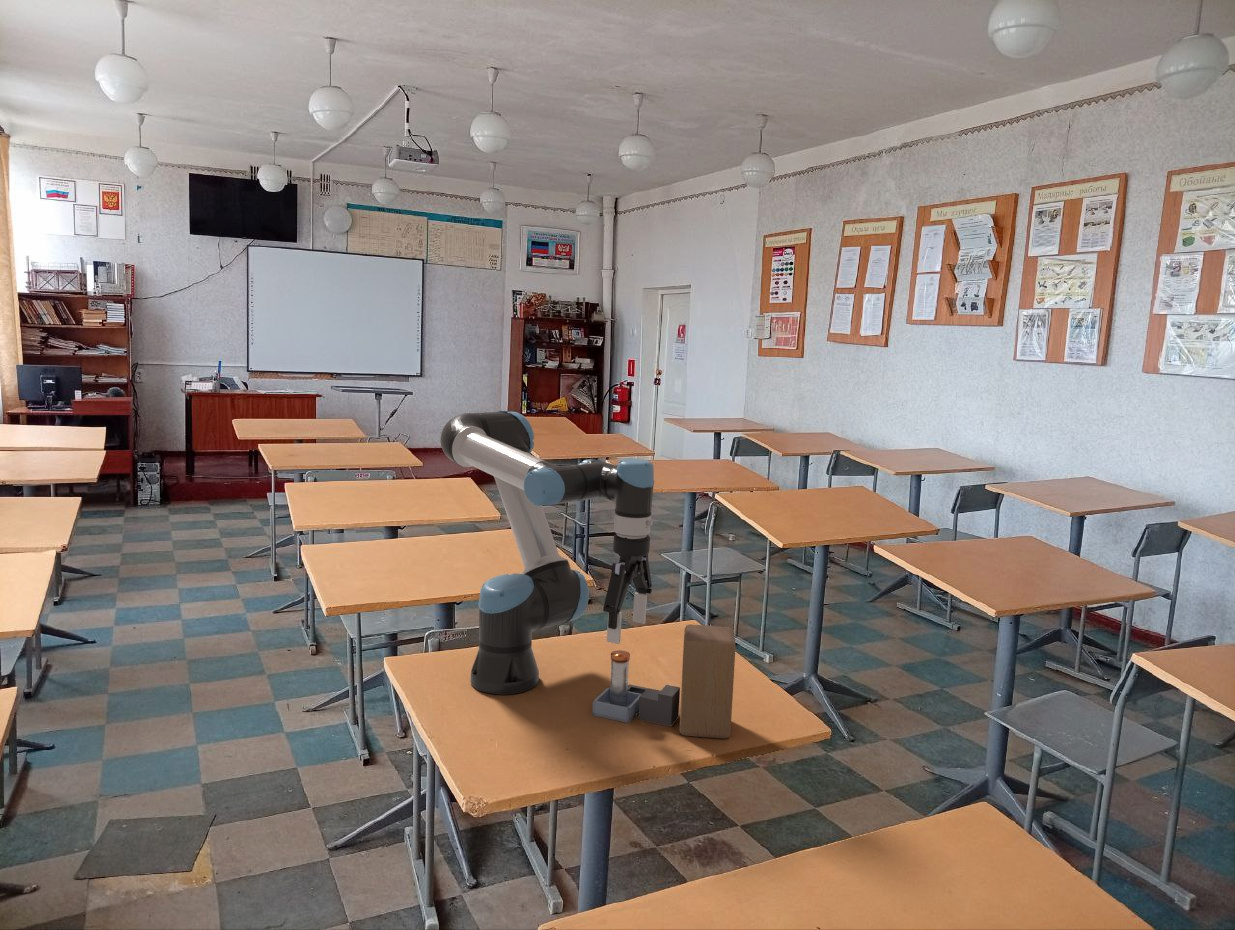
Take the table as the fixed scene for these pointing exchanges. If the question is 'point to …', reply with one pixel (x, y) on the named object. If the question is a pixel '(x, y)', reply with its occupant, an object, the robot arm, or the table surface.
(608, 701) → the tray
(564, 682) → the table surface
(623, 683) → the pin
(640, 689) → the socket
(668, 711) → the dark grey stepped piece
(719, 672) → the block
